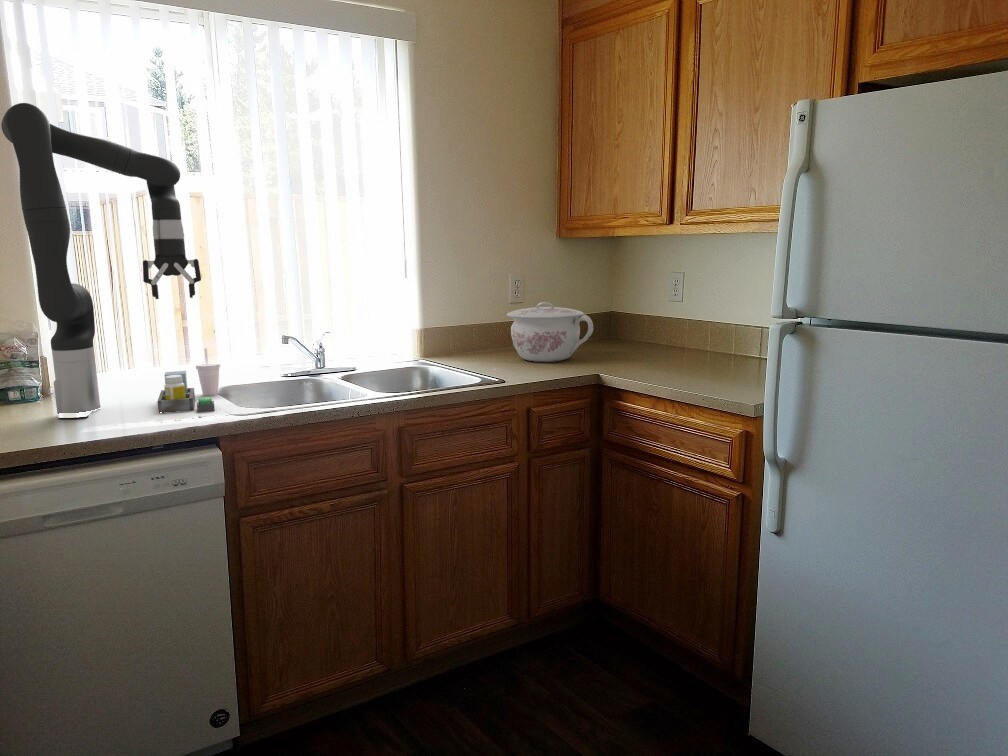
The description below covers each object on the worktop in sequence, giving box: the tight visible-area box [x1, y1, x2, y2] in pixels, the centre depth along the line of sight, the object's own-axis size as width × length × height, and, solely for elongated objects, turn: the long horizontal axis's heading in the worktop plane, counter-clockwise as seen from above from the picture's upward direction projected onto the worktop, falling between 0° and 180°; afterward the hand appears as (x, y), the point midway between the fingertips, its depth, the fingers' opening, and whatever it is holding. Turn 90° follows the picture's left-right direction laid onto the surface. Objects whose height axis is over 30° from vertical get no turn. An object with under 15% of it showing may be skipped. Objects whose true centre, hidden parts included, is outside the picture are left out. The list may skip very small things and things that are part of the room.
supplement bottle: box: [163, 375, 186, 400], centre depth 193 cm, size 5×5×8 cm
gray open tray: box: [157, 387, 196, 414], centre depth 197 cm, size 8×17×4 cm, turn 21°
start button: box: [197, 396, 213, 405], centre depth 191 cm, size 3×3×4 cm
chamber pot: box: [506, 301, 594, 363], centre depth 269 cm, size 28×28×21 cm
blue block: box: [164, 370, 189, 393], centre depth 200 cm, size 5×5×8 cm
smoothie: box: [195, 347, 221, 396], centre depth 211 cm, size 6×6×14 cm
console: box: [196, 400, 216, 413], centre depth 191 cm, size 4×4×3 cm
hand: (174, 298), depth 206 cm, fingers open, 8 cm apart
